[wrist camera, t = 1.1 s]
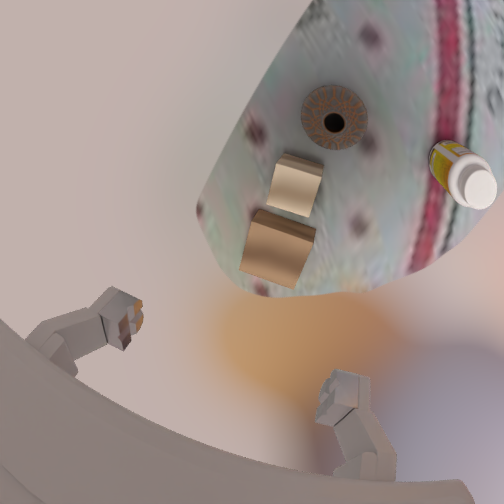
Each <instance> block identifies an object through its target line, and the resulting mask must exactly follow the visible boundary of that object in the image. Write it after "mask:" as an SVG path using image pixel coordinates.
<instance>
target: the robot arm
mask: <svg viewBox="0 0 504 504" xmlns="http://www.w3.org/2000/svg"><path fill="white" fill-rule="evenodd" d="M142 307H143V305H142V300H140V299H137V298H135V297H133V296H131V295H129V294H127V293H125V292H123V291H121V290H119V289H117V288H115V287H113V286H112V287H109V288H108V289H107V290H106V291H105V292H104V293H103V294H102V295H101V296H100V297H99V298H98V299H97V300H96V301H95V302H94V303H93V304H92V305H91V306H90V307H89V309H87V308H83V309H80V310H77V311H73V312H70V313H67V314H64V315H61V316H58V317H54V318H52V319H48V320H45V321H42V322H41V323H40V324H39V325H38V326H37V327H36V328H35V329H34V330H33V331H32V332H31V333H30V334H29V336H28V337H27V338H26V339H25V340H24V339H23V338H21V337H20V336H19V335H18V334H17V333H16V332H15V331H13V330H12V329H11V328H10V327H9V326H8V325H7V324H6V323H4V322H3V321H2V320H1V319H0V504H475V502H474V499H473V497H472V495H471V494H470V492H469V490H468V489H467V487H466V486H465V484H464V483H463V481H461V480H458V479H457V480H454V479H453V480H441V481H421V482H395V479H396V462H397V454H396V452H395V450H394V448H393V447H392V445H391V443H390V441H389V440H388V438H387V436H386V434H385V432H384V430H383V429H382V427H381V426H380V423H379V422H378V420H377V418H376V416H375V415H374V413H373V412H371V411H370V378H369V377H367V376H362V375H358V374H355V373H351V372H346V371H343V370H339V369H334V370H333V371H332V372H331V376H330V378H328V379H326V380H325V382H324V383H323V385H322V388H321V391H320V394H319V401H320V403H321V405H320V406H319V407H318V408H317V412H316V418H315V422H316V423H320V424H324V425H329V426H333V429H334V431H335V434H336V437H337V439H338V442H339V444H340V447H341V450H342V452H343V455H344V458H345V461H346V463H345V464H343V465H341V466H339V467H338V468H336V469H335V470H334V472H333V476H326V475H320V474H314V473H308V472H303V471H298V470H293V469H288V468H284V467H279V466H275V465H271V464H267V463H263V462H260V461H256V460H252V459H249V458H246V457H242V456H239V455H236V454H232V453H229V452H226V451H223V450H220V449H218V448H215V447H212V446H209V445H206V444H204V443H201V442H198V441H196V440H193V439H191V438H188V437H186V436H183V435H181V434H178V433H176V432H174V431H172V430H169V429H167V428H165V427H163V426H160V425H158V424H156V423H154V422H152V421H150V420H148V419H146V418H144V417H142V416H140V415H138V414H136V413H134V412H132V411H130V410H128V409H126V408H124V407H123V406H121V405H119V404H117V403H115V402H114V401H112V400H110V399H108V398H107V397H105V396H103V395H101V394H100V393H98V392H97V391H95V390H93V389H91V388H90V387H88V386H87V385H85V384H84V383H82V382H81V381H79V380H78V379H76V378H75V376H76V375H77V373H78V369H77V367H76V365H75V363H74V360H76V359H78V358H80V357H82V356H84V355H87V354H89V353H91V352H92V351H95V350H97V349H99V348H101V347H103V346H105V345H107V343H108V344H110V345H112V346H114V347H116V348H118V349H120V350H122V351H124V350H125V349H126V347H127V346H128V345H129V343H130V342H131V335H134V334H136V333H137V332H138V331H139V330H140V328H141V325H142V323H143V318H144V317H143V313H142V311H141V308H142Z"/></svg>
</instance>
